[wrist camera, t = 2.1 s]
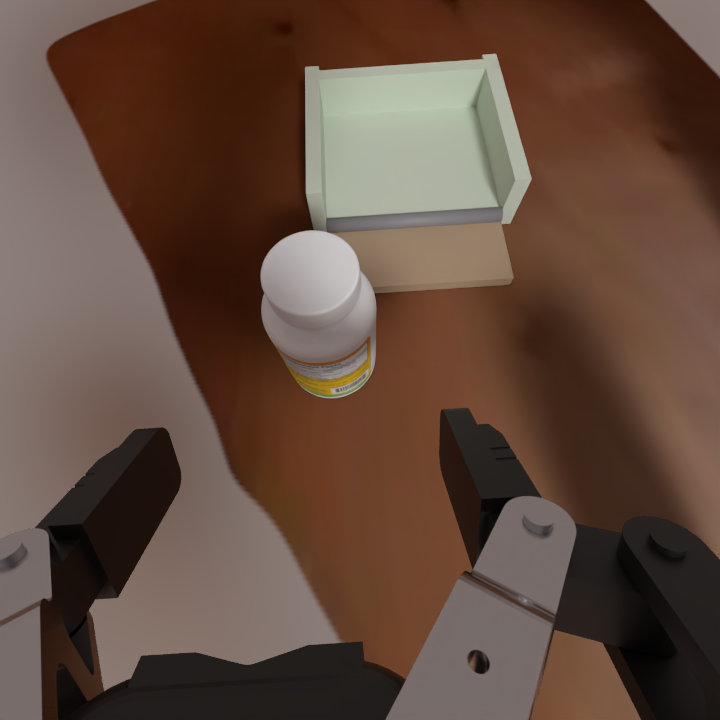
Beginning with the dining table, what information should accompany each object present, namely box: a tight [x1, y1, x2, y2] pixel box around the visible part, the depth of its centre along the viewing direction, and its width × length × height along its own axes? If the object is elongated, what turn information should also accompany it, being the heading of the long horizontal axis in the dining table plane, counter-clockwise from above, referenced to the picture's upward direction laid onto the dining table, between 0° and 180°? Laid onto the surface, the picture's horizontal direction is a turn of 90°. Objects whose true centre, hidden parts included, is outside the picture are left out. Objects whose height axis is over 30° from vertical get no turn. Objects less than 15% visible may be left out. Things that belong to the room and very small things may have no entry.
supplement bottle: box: [261, 230, 377, 398], centre depth 20 cm, size 5×5×10 cm
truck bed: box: [305, 54, 532, 293], centre depth 27 cm, size 14×17×4 cm
